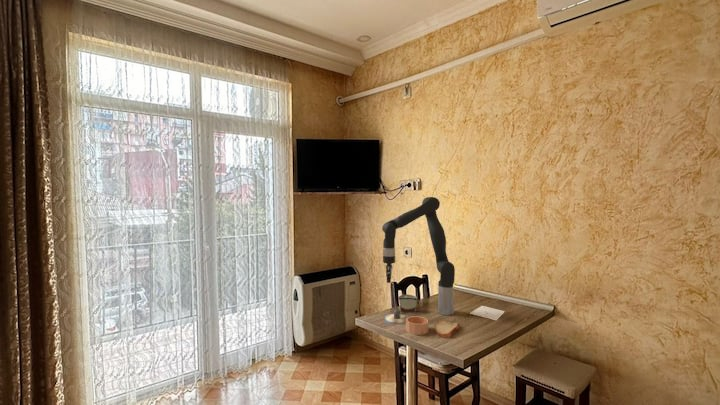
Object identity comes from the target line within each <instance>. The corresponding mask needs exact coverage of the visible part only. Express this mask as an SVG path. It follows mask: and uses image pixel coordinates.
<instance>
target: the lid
mask: <svg viewBox="0 0 720 405" xmlns="http://www.w3.org/2000/svg"><path fill="white" fill-rule="evenodd" d="M405 315H406V314H402V313H401V312H400V309H394V310H393V313H389V315H387V316H386V317H385V316H384V317H385V320H386V321H388V322H390V323H396V324H395V325H402V324H401V323H406V318H408V317H407V316H405Z"/></svg>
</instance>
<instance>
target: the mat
mask: <svg viewBox="0 0 720 405" xmlns="http://www.w3.org/2000/svg"><path fill="white" fill-rule="evenodd" d="M389 314H390V313H389ZM389 314H387V313H386V314H384V320H383V324H387V325H388V324H390V325H392V324H393V325H397V324H396V323H390V322H388V321H386V320H385V317H386V316H387V315H389ZM404 315H405V316H407V317H410V315H407V314H404ZM400 325H406V323H401V324H400Z"/></svg>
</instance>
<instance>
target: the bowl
mask: <svg viewBox="0 0 720 405" xmlns="http://www.w3.org/2000/svg"><path fill="white" fill-rule="evenodd" d="M405 331H406V332H407V333H409V334H412V335H415V336H417V337H419V336H421V335H426V334H428V333H429V320H428V319H427V318H426V317H423V316H419V315H417V316H416V315H415V316H413V315H412V316H409V317H408V318H406V324H405Z"/></svg>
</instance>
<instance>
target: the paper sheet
mask: <svg viewBox="0 0 720 405" xmlns="http://www.w3.org/2000/svg"><path fill="white" fill-rule="evenodd" d="M505 312H506V311H505V310H501V309H497V308H493V307H490V306H485V305H480V306H478V307H477V308H475V309H474V310H473V311H471V312H470V313H469V314H470V315H474V316H478V317H482V318H485V319H490V320H493V321H498V320H499V318H500V317H501V316H502V315H503V314H504V313H505Z"/></svg>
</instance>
